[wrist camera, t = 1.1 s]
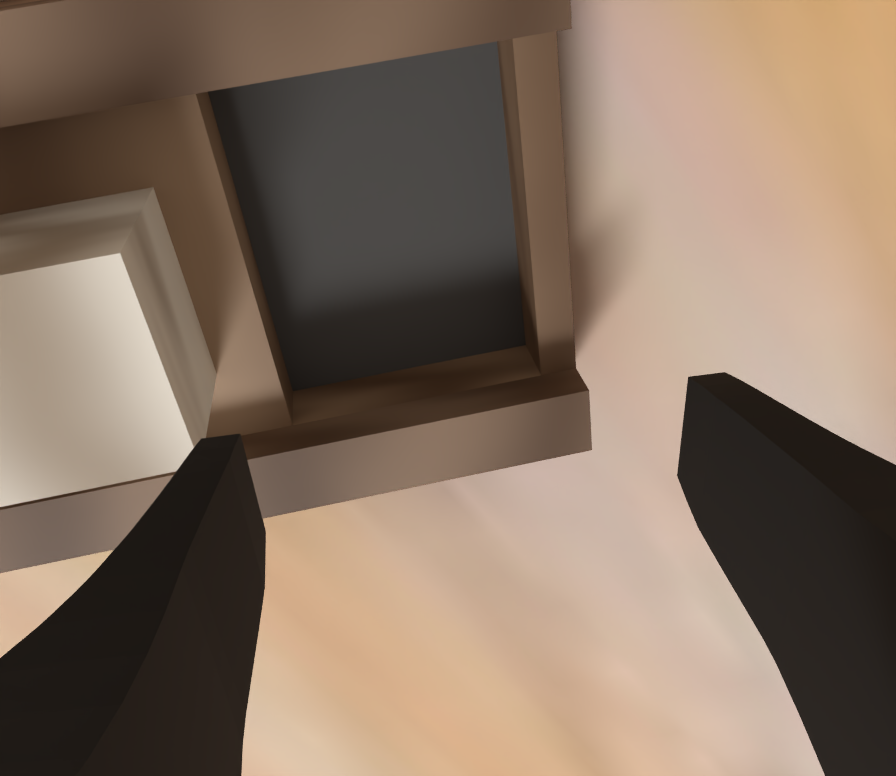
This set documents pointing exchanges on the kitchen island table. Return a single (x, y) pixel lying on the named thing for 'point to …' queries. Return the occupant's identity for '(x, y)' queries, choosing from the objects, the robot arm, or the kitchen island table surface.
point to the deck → (320, 229)
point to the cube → (96, 348)
